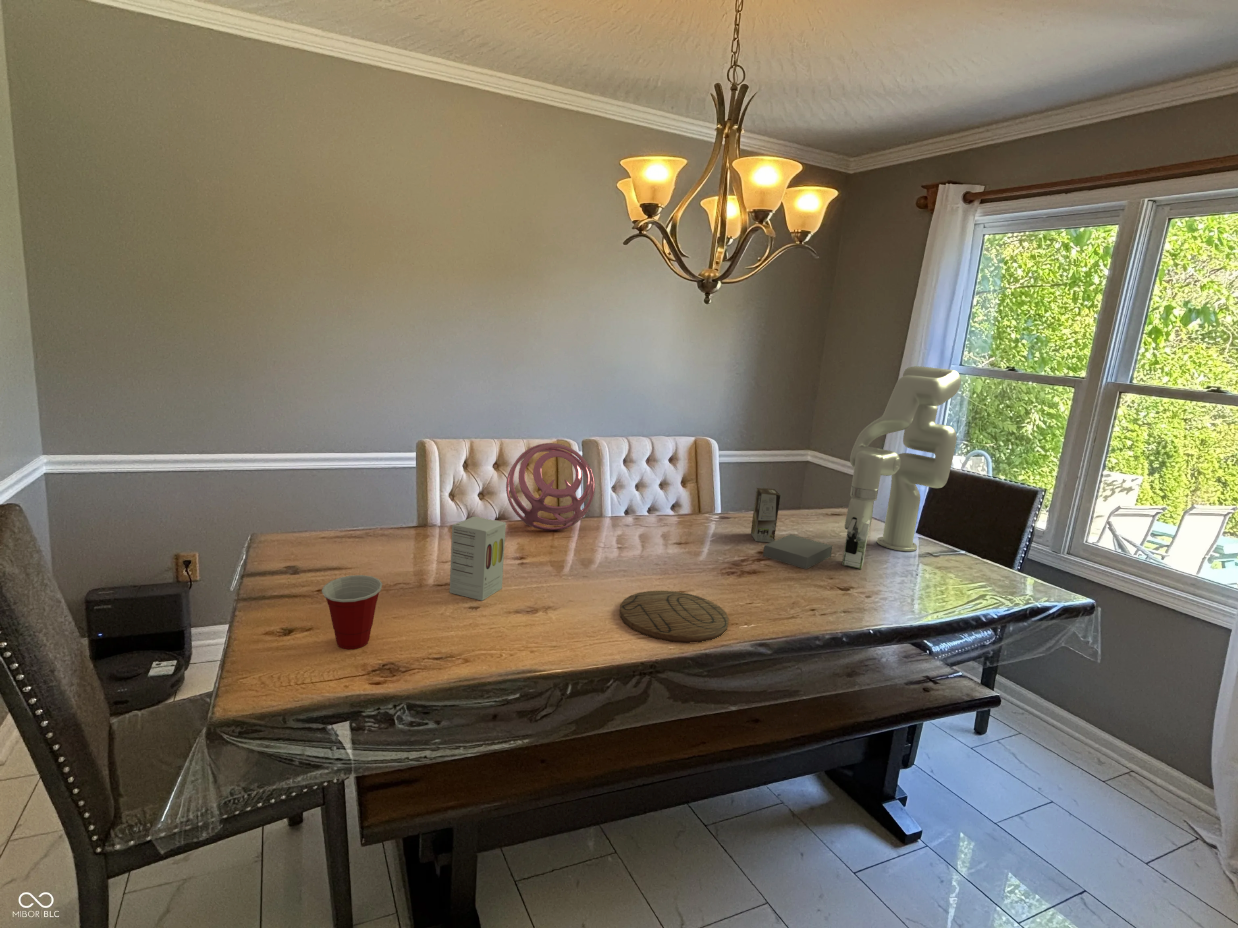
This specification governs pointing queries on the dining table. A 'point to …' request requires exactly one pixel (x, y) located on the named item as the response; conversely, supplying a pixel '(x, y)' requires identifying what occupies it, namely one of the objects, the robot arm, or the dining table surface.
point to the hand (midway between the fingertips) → (855, 549)
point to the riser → (797, 551)
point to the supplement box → (477, 557)
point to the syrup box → (857, 558)
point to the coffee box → (765, 514)
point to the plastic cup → (352, 608)
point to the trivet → (673, 616)
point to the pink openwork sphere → (547, 489)
